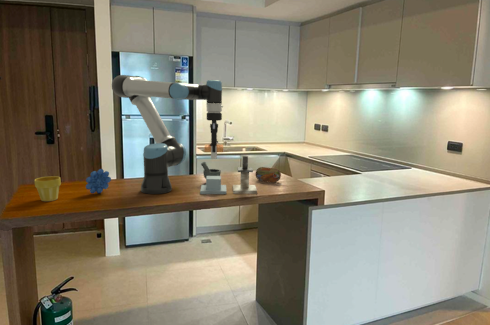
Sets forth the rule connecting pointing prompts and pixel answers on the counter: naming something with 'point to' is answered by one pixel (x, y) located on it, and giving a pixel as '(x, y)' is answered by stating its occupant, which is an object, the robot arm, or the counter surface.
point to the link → (219, 148)
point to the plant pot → (48, 187)
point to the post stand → (244, 179)
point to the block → (213, 186)
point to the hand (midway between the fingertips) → (214, 157)
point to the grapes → (98, 181)
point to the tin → (268, 174)
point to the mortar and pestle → (210, 171)
